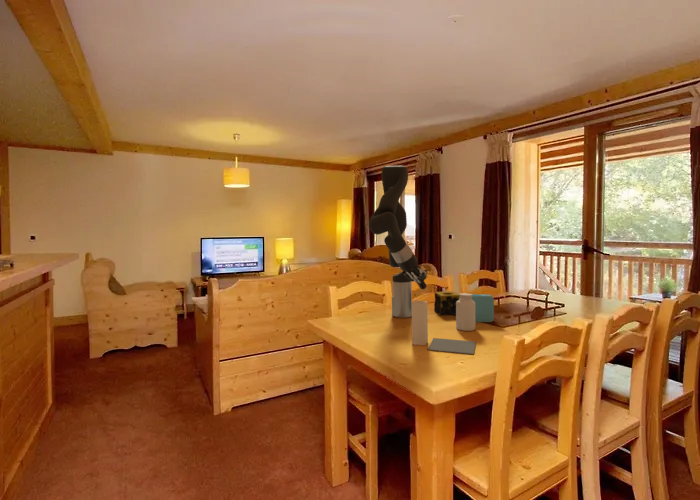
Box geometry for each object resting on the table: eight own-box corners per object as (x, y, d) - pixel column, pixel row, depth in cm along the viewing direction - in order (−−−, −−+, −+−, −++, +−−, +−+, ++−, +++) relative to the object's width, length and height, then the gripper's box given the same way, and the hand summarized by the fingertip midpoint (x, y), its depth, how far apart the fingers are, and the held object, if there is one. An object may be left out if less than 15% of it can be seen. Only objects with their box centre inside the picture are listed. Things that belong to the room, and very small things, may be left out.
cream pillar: (412, 344, 145) (411, 303, 144) (414, 340, 150) (414, 300, 149) (425, 346, 144) (425, 304, 142) (427, 342, 148) (427, 301, 147)
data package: (491, 319, 178) (491, 294, 177) (493, 322, 174) (494, 296, 173) (465, 319, 180) (465, 294, 179) (466, 321, 176) (466, 296, 175)
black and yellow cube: (433, 310, 198) (433, 291, 198) (453, 310, 199) (452, 291, 199) (440, 315, 188) (440, 295, 188) (460, 314, 189) (460, 294, 188)
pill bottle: (476, 327, 167) (476, 293, 166) (474, 332, 159) (474, 296, 158) (457, 325, 170) (457, 292, 169) (454, 330, 163) (454, 295, 162)
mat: (427, 350, 139) (427, 349, 139) (433, 338, 152) (433, 337, 152) (474, 354, 133) (474, 353, 133) (475, 342, 146) (475, 341, 146)
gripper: (387, 262, 154) (407, 293, 161) (410, 262, 143) (431, 295, 150) (397, 250, 158) (417, 280, 164) (421, 249, 147) (441, 282, 153)
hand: (424, 287), depth 157 cm, fingers closed
